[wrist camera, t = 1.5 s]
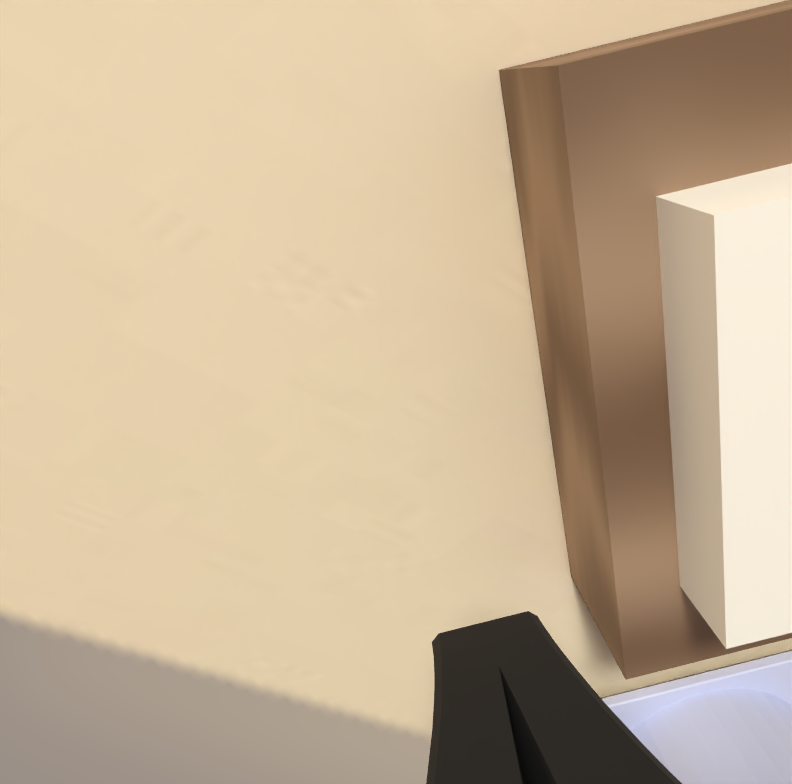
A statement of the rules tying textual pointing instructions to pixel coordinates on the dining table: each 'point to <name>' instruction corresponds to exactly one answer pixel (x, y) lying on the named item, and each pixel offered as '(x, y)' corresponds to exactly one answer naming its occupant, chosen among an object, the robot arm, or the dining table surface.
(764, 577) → the block
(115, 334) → the dining table surface
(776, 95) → the brown wooden block
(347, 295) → the dining table surface
